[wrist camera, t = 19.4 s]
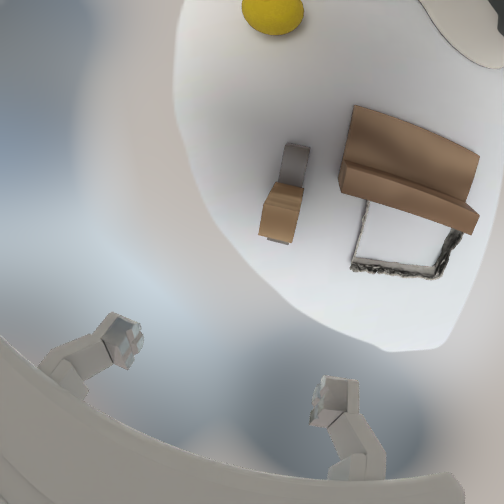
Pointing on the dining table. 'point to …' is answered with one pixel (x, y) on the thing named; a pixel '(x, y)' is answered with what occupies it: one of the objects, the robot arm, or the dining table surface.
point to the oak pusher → (285, 196)
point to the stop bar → (408, 169)
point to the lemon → (273, 15)
